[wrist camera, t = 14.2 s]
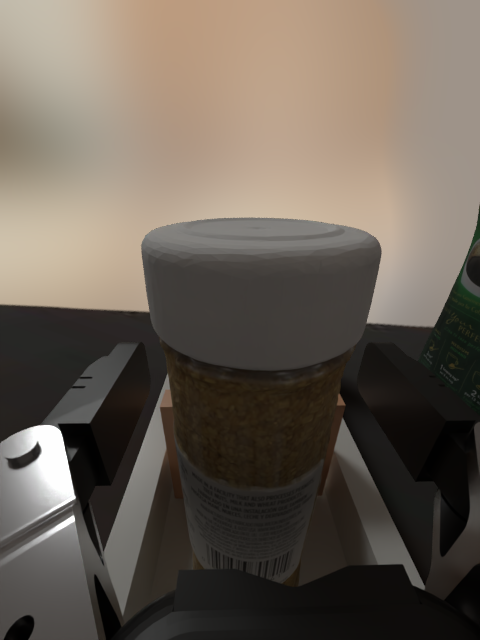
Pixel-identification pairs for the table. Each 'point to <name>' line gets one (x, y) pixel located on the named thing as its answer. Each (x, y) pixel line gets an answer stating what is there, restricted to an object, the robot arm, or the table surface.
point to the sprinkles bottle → (255, 373)
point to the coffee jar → (459, 333)
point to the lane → (173, 536)
